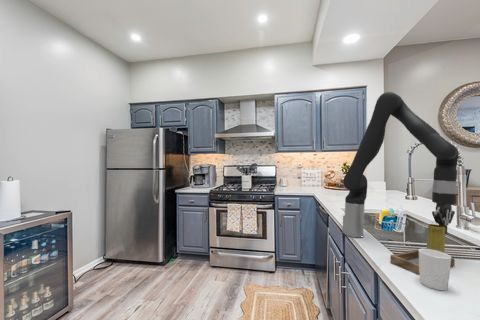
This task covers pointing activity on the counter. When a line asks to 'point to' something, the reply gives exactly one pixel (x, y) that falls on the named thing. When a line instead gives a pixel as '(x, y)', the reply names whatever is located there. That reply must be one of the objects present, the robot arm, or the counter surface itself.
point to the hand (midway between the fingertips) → (442, 234)
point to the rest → (409, 260)
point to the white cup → (434, 268)
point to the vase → (436, 238)
